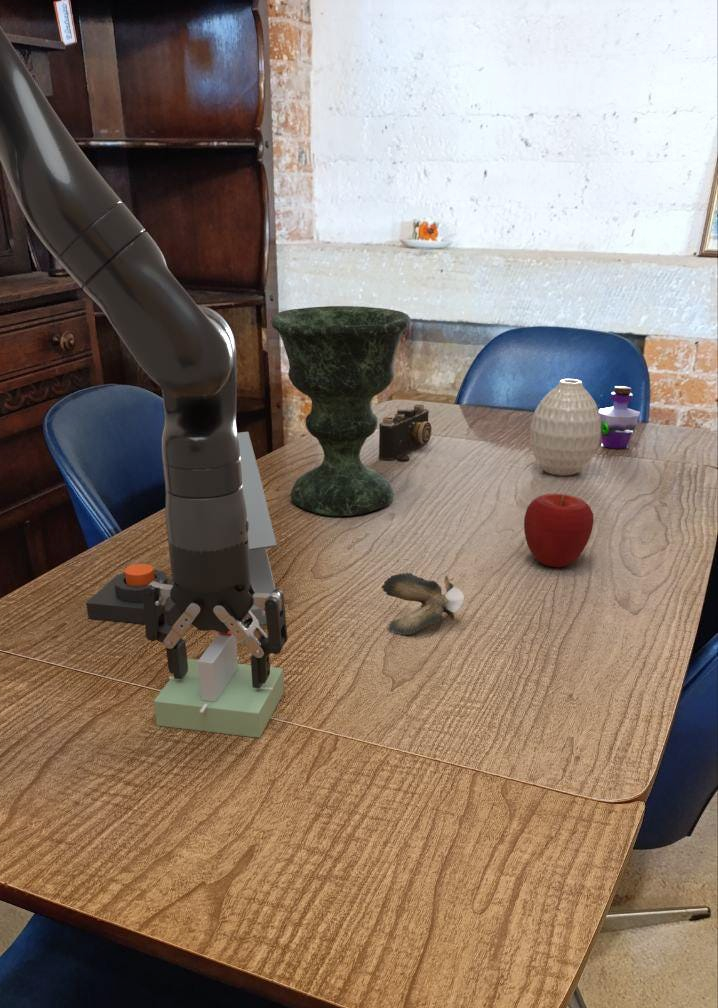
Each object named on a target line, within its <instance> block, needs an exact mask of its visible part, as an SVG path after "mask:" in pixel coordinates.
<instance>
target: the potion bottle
mask: <svg viewBox="0 0 718 1008" xmlns="http://www.w3.org/2000/svg"><path fill="white" fill-rule="evenodd" d="M633 396H634V395H633V393H632V387H629V386H624V385H615V386H614V389H613V391H612V392H611V394H610V401H612V402H613V406H610V407H604V408H599V409H598V410H599V413H600V418H601V445H600V446H601V447H603V448H604V449H605V448H606V449H607V450H609V449H610V450H619V451H620V450H625V449H628V446H629V443H630V439H631V437H632V434H633V431H635V429H636V426H637V423H638V421H639V418H640V414H641V411H639V410H635V409H632V408H629V407H628V403H631V402H632V400H633Z"/></svg>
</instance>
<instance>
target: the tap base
mask: <svg viewBox="0 0 718 1008" xmlns="http://www.w3.org/2000/svg"><path fill="white" fill-rule="evenodd" d="M239 659H240V657H239V656H238V660H239ZM198 660H199V658H198V659H197V658H188V657H187V661H188V671H187V673H186V675H185V676H184V677H183V679H175V678H174V674H173V675H172V676H171V675H170V676H168V681H167V683H166V684H165V686H164V687H163V688H162V689H161V690H160V692H159V693H158V694H157V696H156V697H155V698H154V699H153V708H154V716H155V724H156V726H157V727H166V728H172V729H173V728H174V729H180V730H190V731H199V732H206V733H216V734H223V735H230V736H231V735H232V736H239V737H240V736H241V737H249V738H257V739H260V738H261V737H262V735H263V733H264V731H265V729H266V727H267V726H268V723H269V721H270V720H271V718H272V716H273V714H274V712H275V710H276V708H277V706H278V705H279V703H280V700H281V699H282V698H283V695H284V693H285V679H284V676H285V675H284V668H282V667H273V666H270V675H269V677H268V679H267V681H266V682H265V684H262V686H261V688H253V686H252V672H251V664H245V663H238V669H237V671H236V672H235V674H234V675H233V677H232V678H231V680H230V681H229V683H228V684H227V686H226V687H225V689H224V691H223V692H222V694H221V695H220V697H219V698H218V700H217V701H216V702H212V701H204V700H201V693H200V683H199V672H198Z"/></svg>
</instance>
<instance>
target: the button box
mask: <svg viewBox="0 0 718 1008" xmlns="http://www.w3.org/2000/svg"><path fill="white" fill-rule="evenodd" d="M154 575H155V578H159V579H161V580H162V581H163V583H164V584H169V585H173V583H174V581H173V578H172V579H171V578H168V577H167V574H166V573H165V572H163V571H161V570H158V569H154ZM148 585H149V584H148ZM148 585H144V586H129V585H127V584H126V577H125V572H123V573H119V574H116V575H115V576H114V577H112V579H110V580H109V581H108V582H107V583H106V584H104V586H103V587H102V588H101V589H100V590H98V591H97V593H96V594H94V595H93V596H91V598H90V599H88V601H87V602H86V603H85V604H86V610H87V617H88V619H91V620H100V621H101V620H102V621H111V622H120V623H130V624H140V625H145V616H144V603H143V590H144V589H145V588H146V587H147V586H148ZM165 611H166V625H167V626H169V627H171V628H172V626H173V625H174V624H175V622H177V621H178V620H179V618H180V617H181V616H182V614H183V613H182V612H181V611H180V610H179V608H178V607H177V606H176V605H175V603H174V602H173V601H172V599H171V597H169V600H168V601H167V602H166V603H165Z"/></svg>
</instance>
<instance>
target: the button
mask: <svg viewBox="0 0 718 1008" xmlns="http://www.w3.org/2000/svg"><path fill="white" fill-rule="evenodd" d="M154 570H155V568H154V567H153V565H151V564H147V563H136V564H132V565H129V566H127V567H126V568H125V569H124V573H125V577H126V584H127V585H129V586H144V585H148V584H150V583H151V582H152V581H153V580H154V579H155V575H154Z"/></svg>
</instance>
